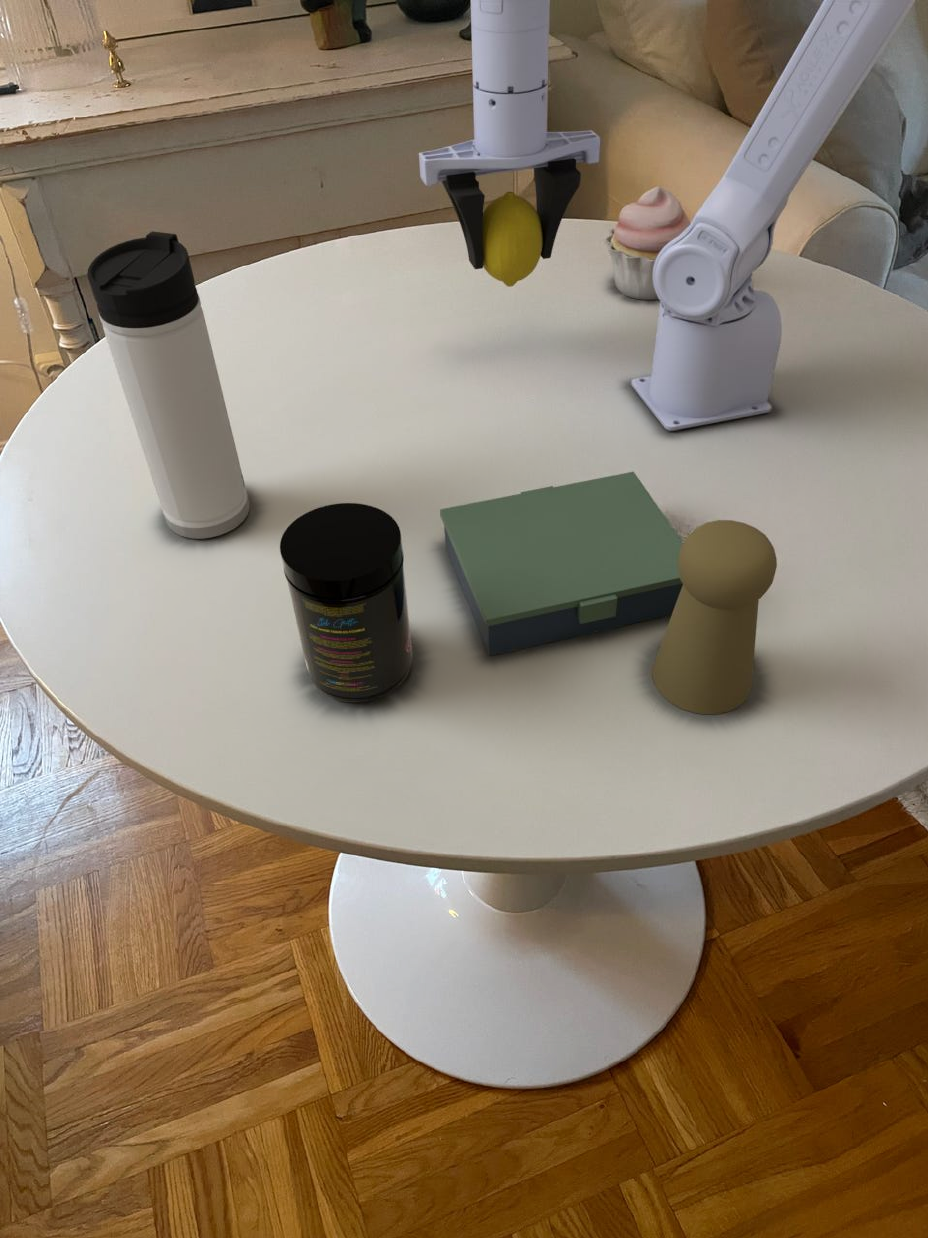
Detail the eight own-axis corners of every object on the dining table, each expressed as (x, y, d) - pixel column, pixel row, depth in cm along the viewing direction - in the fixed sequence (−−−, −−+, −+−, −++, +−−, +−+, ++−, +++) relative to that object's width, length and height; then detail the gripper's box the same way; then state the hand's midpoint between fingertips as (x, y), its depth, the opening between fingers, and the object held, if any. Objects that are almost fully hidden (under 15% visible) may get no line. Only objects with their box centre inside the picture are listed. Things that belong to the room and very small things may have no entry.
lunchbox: (627, 506, 69) (631, 467, 67) (699, 615, 61) (707, 576, 59) (440, 544, 67) (438, 505, 65) (488, 663, 59) (488, 624, 56)
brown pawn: (642, 645, 59) (662, 508, 52) (735, 637, 59) (769, 499, 52) (664, 718, 55) (690, 581, 47) (765, 710, 55) (807, 571, 47)
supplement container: (424, 695, 57) (412, 567, 50) (315, 718, 56) (286, 591, 49) (403, 620, 62) (389, 493, 54) (301, 640, 61) (273, 514, 53)
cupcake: (598, 307, 92) (606, 203, 85) (601, 266, 99) (609, 167, 92) (695, 310, 91) (710, 205, 84) (691, 268, 98) (706, 168, 90)
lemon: (536, 302, 79) (538, 206, 74) (473, 298, 80) (470, 203, 75) (545, 273, 83) (548, 180, 78) (484, 270, 84) (483, 178, 79)
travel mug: (267, 494, 72) (209, 235, 58) (224, 547, 68) (150, 281, 53) (196, 480, 73) (123, 225, 59) (150, 531, 69) (60, 269, 55)
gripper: (581, 58, 75) (573, 229, 84) (405, 79, 72) (417, 252, 82) (614, 82, 70) (602, 260, 79) (427, 105, 67) (437, 286, 77)
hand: (510, 258), depth 80 cm, fingers closed on lemon, 5 cm apart
